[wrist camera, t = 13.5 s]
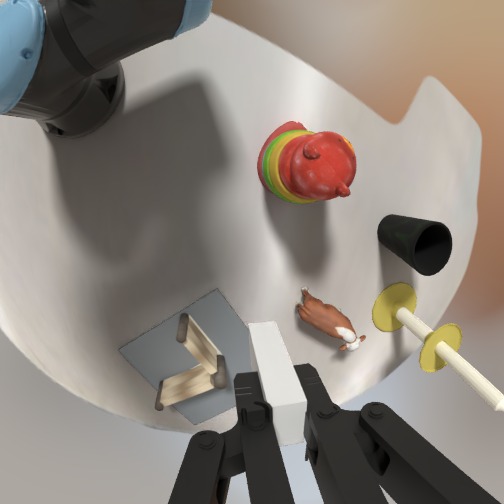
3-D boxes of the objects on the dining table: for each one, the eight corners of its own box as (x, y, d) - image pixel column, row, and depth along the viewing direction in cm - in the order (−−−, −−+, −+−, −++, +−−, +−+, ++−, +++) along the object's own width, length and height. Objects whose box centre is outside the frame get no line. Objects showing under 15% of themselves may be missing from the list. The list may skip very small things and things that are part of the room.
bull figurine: (337, 337, 54) (355, 362, 46) (284, 297, 50) (296, 320, 42) (354, 319, 53) (374, 342, 45) (302, 276, 50) (317, 297, 42)
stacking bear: (336, 175, 46) (399, 184, 29) (283, 214, 46) (323, 244, 29) (295, 116, 43) (342, 90, 26) (239, 155, 43) (256, 148, 26)
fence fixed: (177, 316, 48) (172, 339, 41) (186, 310, 48) (182, 333, 41) (218, 364, 52) (219, 391, 45) (226, 359, 51) (229, 386, 45)
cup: (414, 239, 50) (457, 258, 39) (380, 260, 51) (420, 286, 39) (400, 200, 48) (445, 212, 37) (365, 221, 48) (405, 239, 37)
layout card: (118, 349, 49) (118, 350, 49) (217, 288, 48) (217, 289, 48) (194, 423, 56) (194, 425, 55) (285, 378, 55) (286, 379, 54)
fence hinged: (209, 360, 51) (209, 384, 44) (213, 366, 51) (214, 390, 45) (157, 381, 51) (153, 406, 45) (162, 387, 51) (158, 411, 45)
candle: (399, 336, 56) (501, 444, 25) (362, 324, 54) (468, 450, 22) (424, 291, 54) (545, 382, 23) (388, 275, 52) (524, 377, 20)
